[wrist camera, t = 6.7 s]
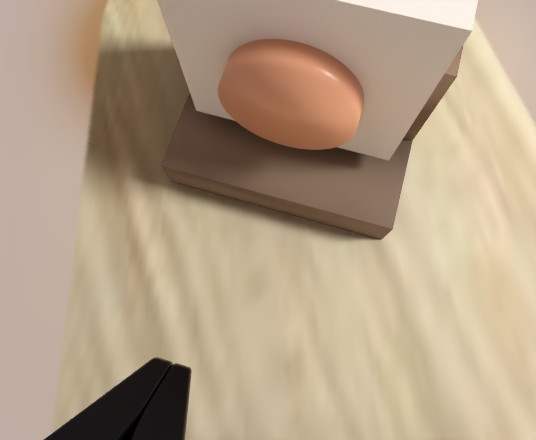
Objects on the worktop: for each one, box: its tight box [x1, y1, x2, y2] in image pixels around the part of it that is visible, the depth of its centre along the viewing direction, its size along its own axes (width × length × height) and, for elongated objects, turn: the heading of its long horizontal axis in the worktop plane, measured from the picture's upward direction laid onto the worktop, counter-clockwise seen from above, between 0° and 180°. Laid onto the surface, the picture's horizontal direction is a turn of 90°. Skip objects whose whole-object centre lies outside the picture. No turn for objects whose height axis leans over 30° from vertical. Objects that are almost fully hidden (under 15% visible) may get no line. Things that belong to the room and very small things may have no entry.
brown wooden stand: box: [161, 46, 463, 239], centre depth 19 cm, size 8×11×7 cm
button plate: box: [158, 0, 478, 161], centre depth 15 cm, size 2×9×8 cm, turn 73°
